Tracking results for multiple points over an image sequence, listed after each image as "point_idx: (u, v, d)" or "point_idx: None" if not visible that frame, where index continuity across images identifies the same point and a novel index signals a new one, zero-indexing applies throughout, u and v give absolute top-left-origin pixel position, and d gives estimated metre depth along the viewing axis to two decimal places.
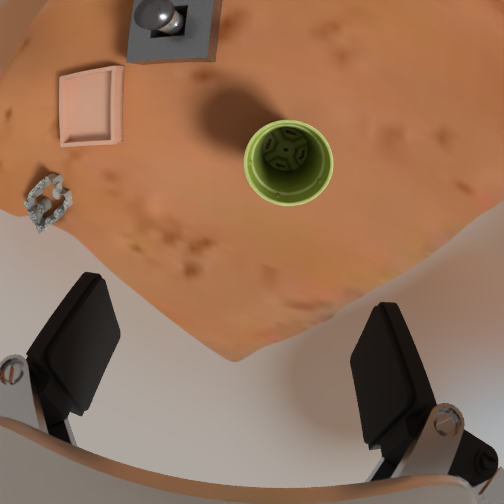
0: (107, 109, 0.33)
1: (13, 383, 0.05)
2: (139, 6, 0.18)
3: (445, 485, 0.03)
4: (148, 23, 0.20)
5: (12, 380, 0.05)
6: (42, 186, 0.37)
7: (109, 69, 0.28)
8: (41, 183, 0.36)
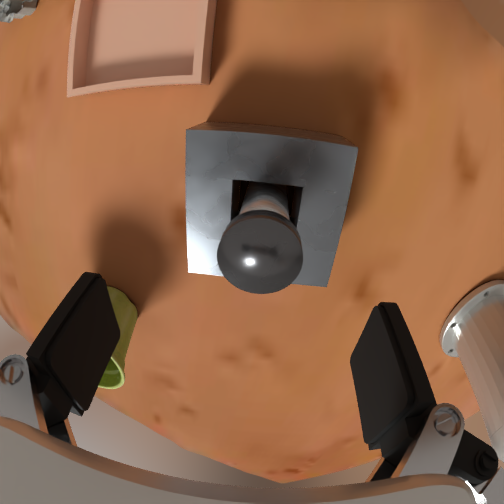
0: (129, 62, 0.17)
1: (13, 383, 0.05)
2: (283, 233, 0.13)
3: (445, 485, 0.03)
4: (229, 252, 0.13)
5: (12, 380, 0.05)
6: None
7: (195, 69, 0.15)
8: None
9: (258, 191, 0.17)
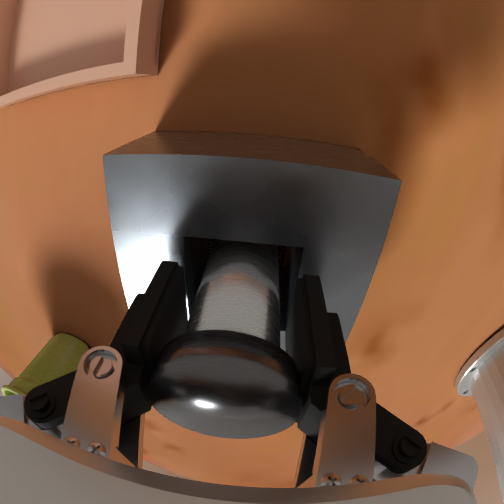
0: (53, 55, 0.10)
1: (98, 375, 0.06)
2: (262, 387, 0.06)
3: (445, 485, 0.03)
4: (169, 400, 0.06)
5: (96, 371, 0.06)
6: None
7: (127, 52, 0.08)
8: None
9: (227, 254, 0.10)
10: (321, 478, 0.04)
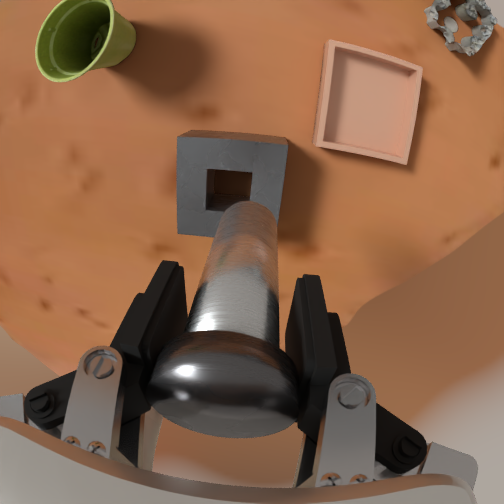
0: (341, 89, 0.25)
1: (97, 375, 0.06)
2: (262, 389, 0.06)
3: (445, 485, 0.03)
4: (167, 400, 0.06)
5: (97, 371, 0.06)
6: (473, 41, 0.17)
7: (326, 143, 0.26)
8: (475, 46, 0.17)
9: (227, 253, 0.10)
10: (321, 478, 0.04)
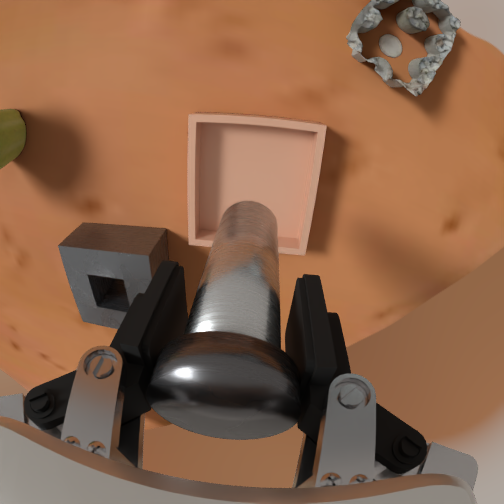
0: (218, 170, 0.23)
1: (97, 374, 0.06)
2: (263, 390, 0.06)
3: (445, 485, 0.03)
4: (168, 402, 0.06)
5: (97, 371, 0.06)
6: (422, 68, 0.16)
7: (199, 241, 0.25)
8: (425, 77, 0.16)
9: (227, 253, 0.10)
10: (321, 478, 0.04)
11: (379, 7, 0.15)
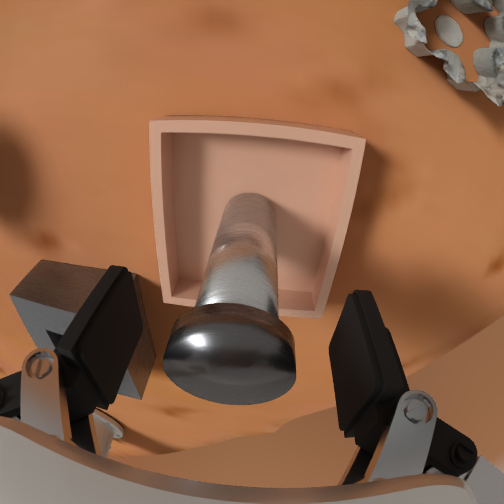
0: (200, 201, 0.16)
1: (40, 376, 0.05)
2: (264, 351, 0.07)
3: (445, 485, 0.03)
4: (181, 367, 0.08)
5: (38, 374, 0.05)
6: (500, 65, 0.08)
7: (177, 299, 0.18)
8: None
9: (231, 239, 0.12)
10: None
11: None
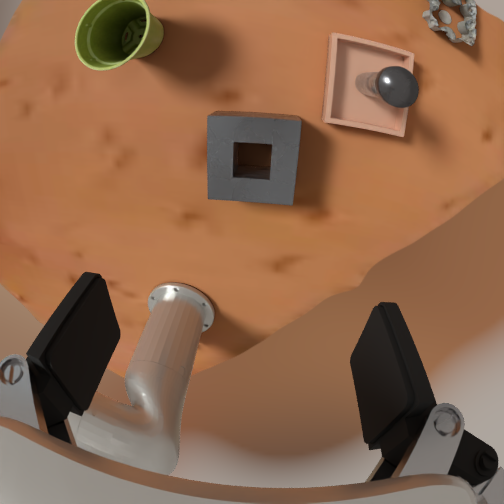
0: (345, 74, 0.28)
1: (13, 383, 0.05)
2: (409, 74, 0.19)
3: (445, 485, 0.03)
4: (386, 80, 0.19)
5: (11, 380, 0.05)
6: (468, 28, 0.19)
7: (333, 119, 0.29)
8: (472, 33, 0.19)
9: None
10: None
11: None
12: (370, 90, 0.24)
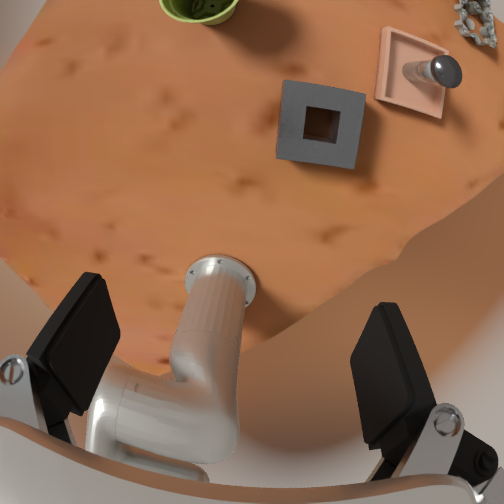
0: (394, 62, 0.29)
1: (13, 383, 0.05)
2: (456, 62, 0.20)
3: (445, 485, 0.03)
4: (439, 65, 0.21)
5: (11, 380, 0.05)
6: (490, 33, 0.21)
7: (387, 98, 0.31)
8: (493, 37, 0.21)
9: None
10: None
11: None
12: (421, 74, 0.25)
